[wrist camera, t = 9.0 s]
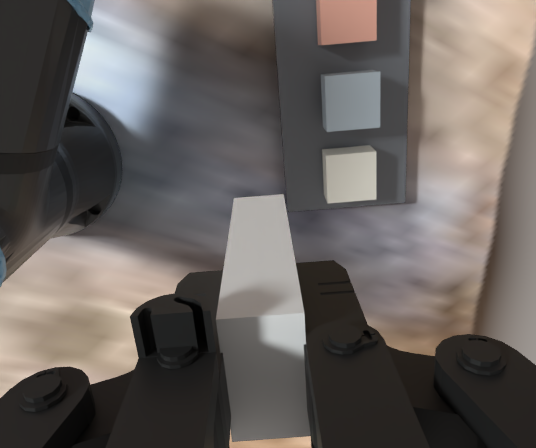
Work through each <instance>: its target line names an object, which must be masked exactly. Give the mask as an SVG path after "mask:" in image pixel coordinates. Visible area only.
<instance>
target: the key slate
mask: <svg viewBox="0 0 536 448" xmlns="http://www.w3.org/2000/svg"><path fill="white" fill-rule="evenodd" d="M321 93H322V118H323V128H324V129H325V130H326V132H333V131H344V130H356V129H368V128H379V127H380V71H376V70H365V71H353V72H342V73H330V74H321Z"/></svg>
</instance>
